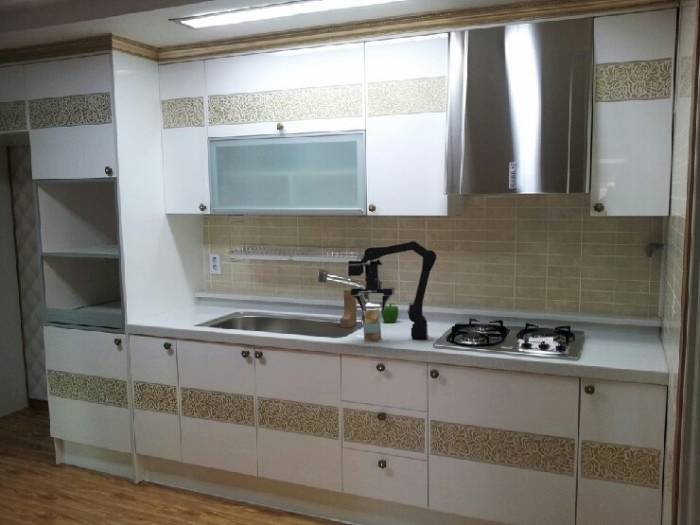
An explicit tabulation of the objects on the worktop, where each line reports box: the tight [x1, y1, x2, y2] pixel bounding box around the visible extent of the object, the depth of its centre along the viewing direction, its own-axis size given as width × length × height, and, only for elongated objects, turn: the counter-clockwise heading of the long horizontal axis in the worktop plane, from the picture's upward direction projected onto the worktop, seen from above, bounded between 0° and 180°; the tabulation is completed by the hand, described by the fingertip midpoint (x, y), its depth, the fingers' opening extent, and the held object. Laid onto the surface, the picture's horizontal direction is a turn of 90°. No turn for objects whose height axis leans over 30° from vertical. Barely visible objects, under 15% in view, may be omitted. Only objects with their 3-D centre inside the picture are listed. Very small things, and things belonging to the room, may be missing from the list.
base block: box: [363, 330, 382, 343], centre depth 273 cm, size 6×6×4 cm
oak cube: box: [364, 309, 380, 324], centre depth 272 cm, size 5×5×5 cm
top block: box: [363, 320, 382, 334], centre depth 272 cm, size 6×6×4 cm
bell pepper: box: [381, 302, 399, 324], centre depth 311 cm, size 8×8×10 cm
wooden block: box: [339, 288, 358, 329], centre depth 305 cm, size 9×4×18 cm, turn 150°
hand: (373, 310), depth 272 cm, fingers open, 9 cm apart
